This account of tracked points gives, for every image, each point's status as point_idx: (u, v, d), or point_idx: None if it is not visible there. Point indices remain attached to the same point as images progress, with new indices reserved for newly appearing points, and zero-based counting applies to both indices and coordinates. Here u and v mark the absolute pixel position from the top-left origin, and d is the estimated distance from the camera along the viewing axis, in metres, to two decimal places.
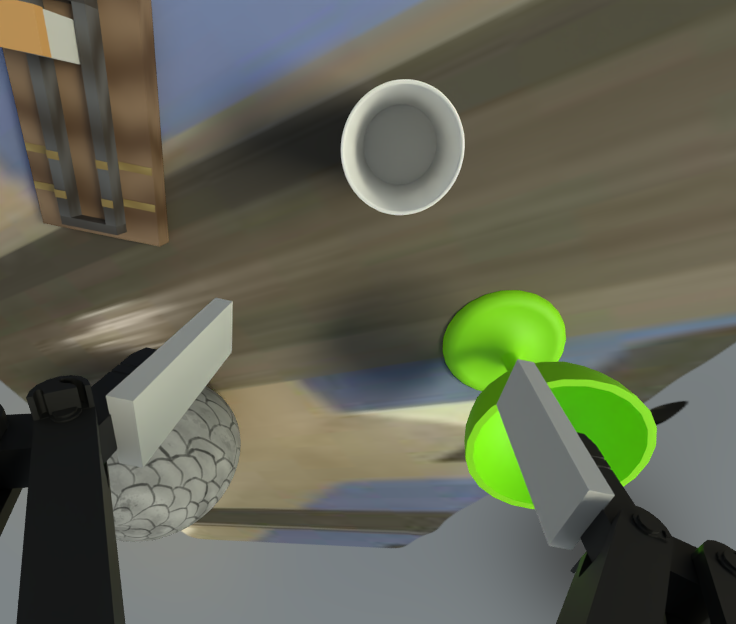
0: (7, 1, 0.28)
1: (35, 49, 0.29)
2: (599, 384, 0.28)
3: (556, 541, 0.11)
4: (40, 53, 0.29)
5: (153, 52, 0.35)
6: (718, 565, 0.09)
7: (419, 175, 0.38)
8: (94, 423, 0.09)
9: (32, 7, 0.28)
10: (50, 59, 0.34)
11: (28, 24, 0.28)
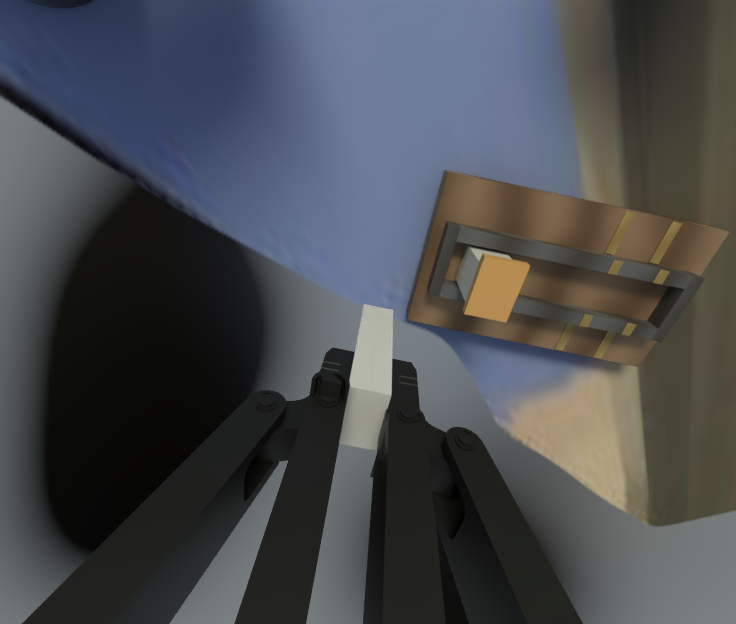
0: (478, 283, 0.26)
1: (522, 272, 0.26)
2: None
3: (360, 442, 0.13)
4: (527, 268, 0.26)
5: (493, 180, 0.30)
6: (457, 449, 0.10)
7: None
8: (342, 418, 0.11)
9: (487, 258, 0.25)
10: None
11: (500, 269, 0.26)
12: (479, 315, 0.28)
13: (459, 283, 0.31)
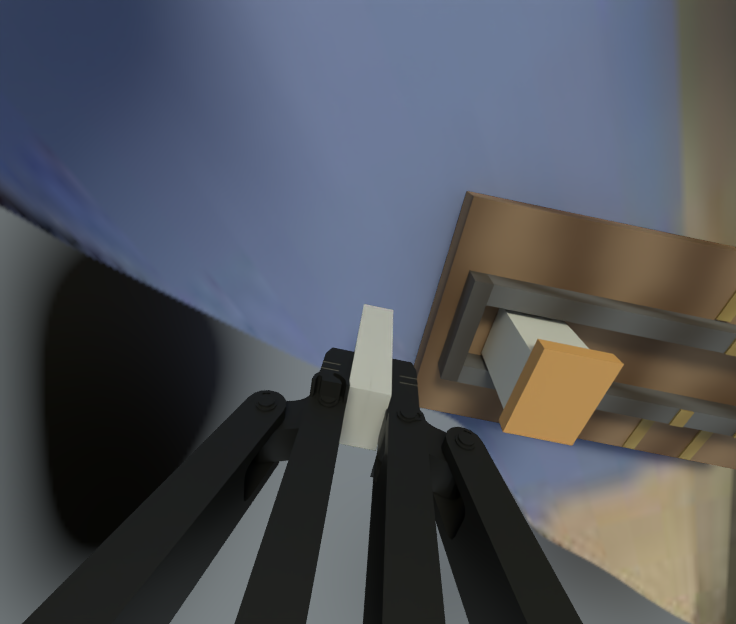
0: (529, 388, 0.15)
1: (609, 373, 0.15)
2: None
3: (360, 442, 0.13)
4: (618, 367, 0.15)
5: (543, 207, 0.19)
6: (457, 449, 0.10)
7: None
8: (342, 418, 0.11)
9: (548, 352, 0.15)
10: None
11: (570, 369, 0.15)
12: (527, 434, 0.17)
13: (489, 365, 0.20)
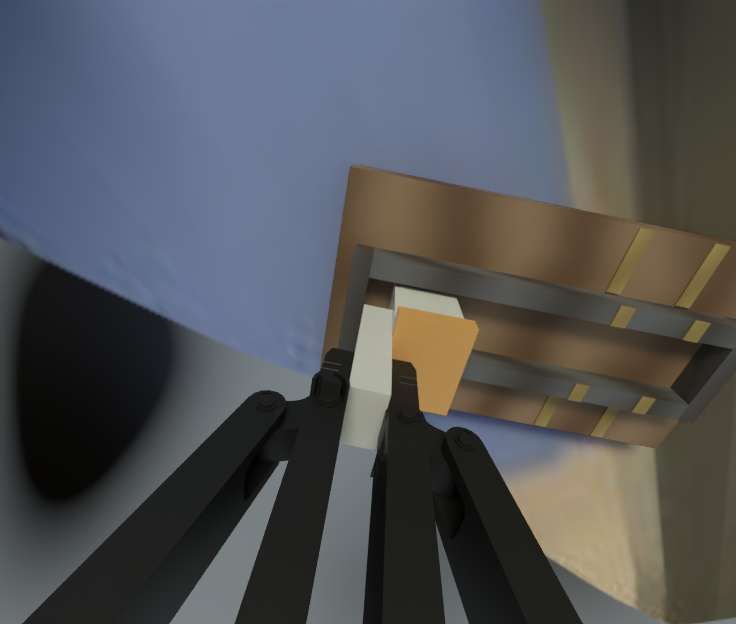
0: (392, 356, 0.15)
1: (466, 339, 0.15)
2: None
3: (360, 442, 0.13)
4: (474, 333, 0.15)
5: None
6: (457, 449, 0.10)
7: None
8: (342, 418, 0.11)
9: (403, 317, 0.15)
10: None
11: (428, 335, 0.15)
12: None
13: None
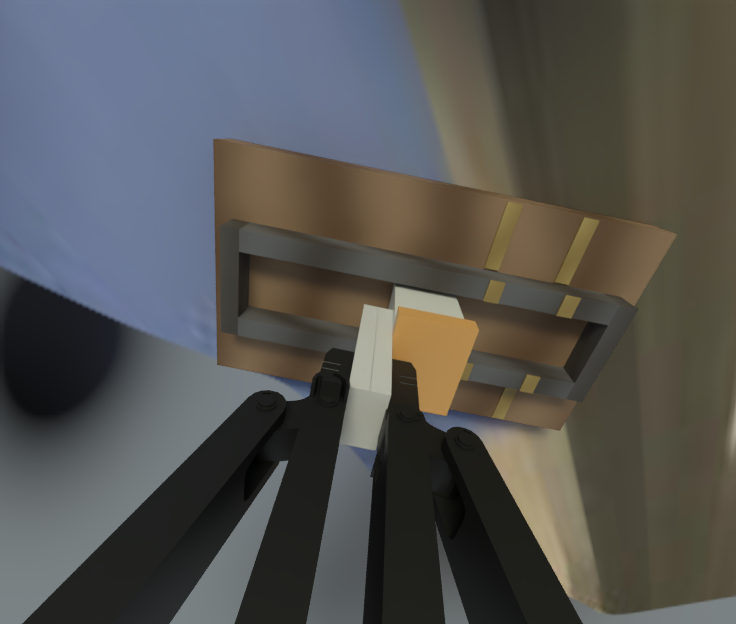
0: (392, 356, 0.15)
1: (467, 340, 0.15)
2: None
3: (360, 442, 0.13)
4: (474, 333, 0.15)
5: (305, 154, 0.19)
6: (457, 449, 0.10)
7: None
8: (342, 418, 0.11)
9: (403, 318, 0.15)
10: (323, 323, 0.21)
11: (428, 335, 0.15)
12: None
13: None
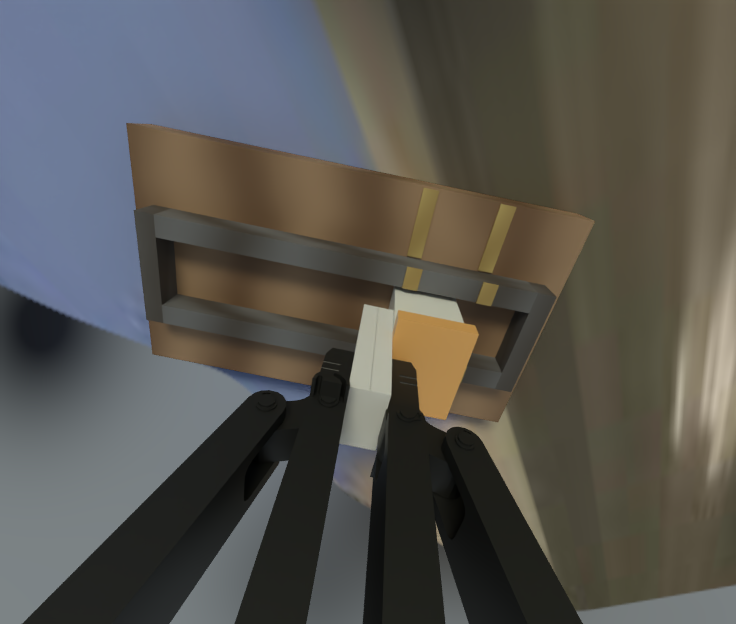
0: None
1: (466, 344, 0.15)
2: None
3: (360, 442, 0.13)
4: (474, 338, 0.15)
5: (226, 140, 0.19)
6: (457, 449, 0.10)
7: None
8: (342, 418, 0.11)
9: (403, 322, 0.14)
10: (252, 311, 0.21)
11: (427, 340, 0.15)
12: None
13: None
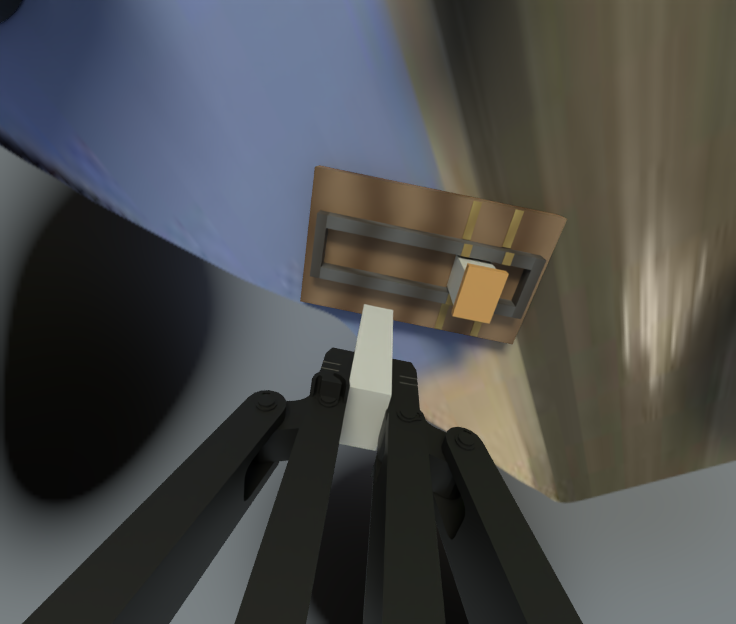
0: (463, 289, 0.30)
1: (502, 279, 0.30)
2: None
3: (360, 442, 0.13)
4: (506, 276, 0.29)
5: (361, 174, 0.34)
6: (457, 449, 0.10)
7: None
8: (342, 418, 0.11)
9: (471, 268, 0.29)
10: (368, 272, 0.36)
11: (482, 277, 0.30)
12: (465, 316, 0.31)
13: (449, 289, 0.35)
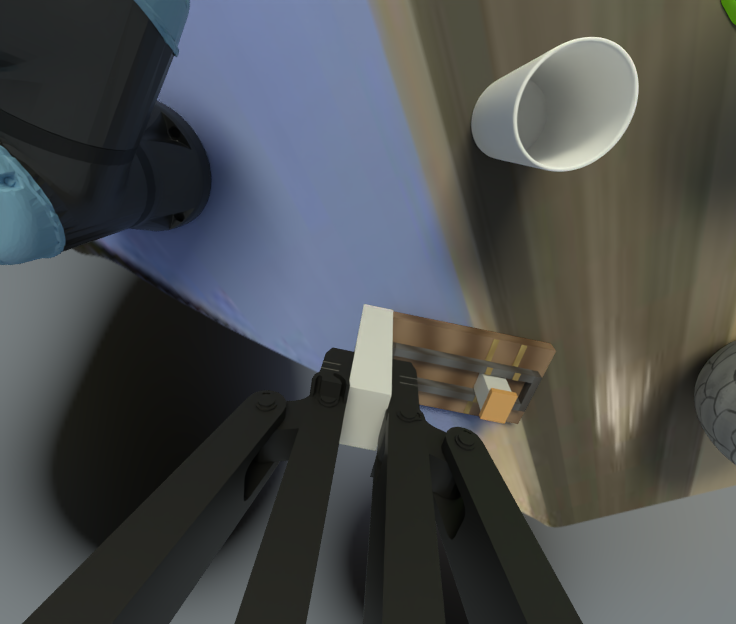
0: (488, 403, 0.47)
1: (513, 399, 0.46)
2: None
3: (360, 442, 0.13)
4: (516, 397, 0.46)
5: (417, 317, 0.50)
6: (458, 449, 0.10)
7: (541, 94, 0.37)
8: (342, 418, 0.11)
9: (493, 392, 0.46)
10: (419, 379, 0.52)
11: (501, 398, 0.46)
12: (488, 419, 0.48)
13: (476, 393, 0.51)
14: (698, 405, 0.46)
